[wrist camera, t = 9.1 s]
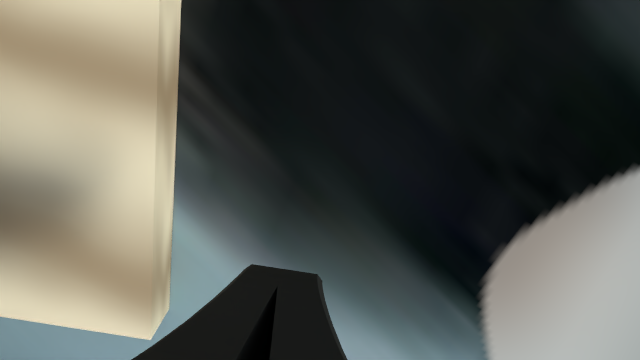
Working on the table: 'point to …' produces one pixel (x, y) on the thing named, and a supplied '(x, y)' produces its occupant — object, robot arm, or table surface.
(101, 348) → the table surface
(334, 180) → the table surface
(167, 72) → the wooden cutting board
